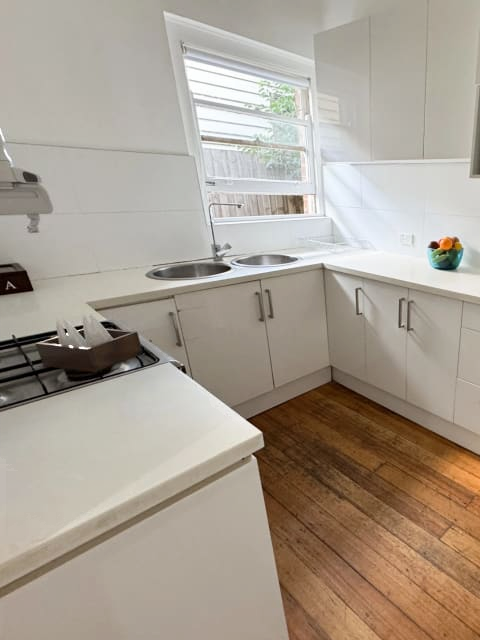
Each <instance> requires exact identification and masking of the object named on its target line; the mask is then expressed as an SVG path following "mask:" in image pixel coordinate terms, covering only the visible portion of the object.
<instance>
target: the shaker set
mask: <svg viewBox="0 0 480 640" xmlns="http://www.w3.org/2000/svg"><path fill="white" fill-rule="evenodd" d="M81 317H82V326H83V327H82V329H84V335H85V339H84V338H83V337H82V336H81V335H80V334H79V332H78V330H77V329H76V328H75V326H73V324H72V323H71V322H70V321H69V320H68V319H67V318H62V322H63V324H62V322H61V319H60V318H57V319H56V320H55V325H56V333H57V337H58V340H59V345H68V346H77V347H86V348H89V347H92V346H95V345H98V344H101V343H103V342H106V341H109V340H112V339H113V338H112V337H111V335H110V334H109V333H108V332H107V330H106V329H107V328H105V326H104V325H103V324H102V322H100V321H99V320H98V319H97V317H96V316H95V315H94V314H93V313H91V312H90V313H88V316H87V314H86V313H83V314H82V316H81ZM88 317H89V319H88ZM63 325H64V326H63ZM64 327H65V328H64ZM65 329H66V330H65ZM67 334H68V335H67ZM85 340H86V341H85Z"/></svg>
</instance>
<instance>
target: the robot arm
mask: <svg viewBox="0 0 480 640" xmlns="http://www.w3.org/2000/svg"><path fill="white" fill-rule="evenodd" d="M6 143H7V141H6V139H5V136H4V133H3V129H2V128H1V126H0V216H18V215H19V216H23V215H26V217H27V219H28V220H29V225H25V228H26V229H27V230H26V231H27V232H28V234H38V233H40V230H39V223H40V220H41V217H40V215H50V214H53V211H54V206H53V203H52V200H51V197H50V195H49V192H48V190H47V189H46V187H45V186H43V185H42V183H43V179H42V176H41V175H40V174H38V173H35V172H31V171H28V170H25V169H22V168H20V167H17V166H15V165H14V162H13V160H12V158H11V157H10V155H9V154H8V151H7V144H6Z"/></svg>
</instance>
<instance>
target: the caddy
mask: <svg viewBox="0 0 480 640" xmlns="http://www.w3.org/2000/svg"><path fill="white" fill-rule="evenodd" d="M105 329H106V330H107V332H108V333H109V334H110V335H111V337H112V338H113V339H112V340H109V341H106V342H103V343H101V344H98V345H95V346H92V347H89V348H86V347H77V346H68V345H59V340H58V336H55V337H52V338H48V339H45V340H43V341H39V342H35V343H34V344H35V348H36V350H37V352H38V356H39V358H40V360H41V363H42V366H43V367H49V368H59V369H64V370H74V371H80V372H81V371H82V372H89V373H98V372H100V371H102V370H105V369H107V368H109V367H111V366H114V365H116V364H119V363H121V362H123V361H126V360H128V359H131V358H133V357H136V356H138V355H140V354H143V353H144V351H143V348H142V344H141V341H140V337H139V333H138V331H134V330H124V329H114V328H105ZM77 331H78V332H79V334H80V335H81V336H82V337H83V338H84V339H85V335H84V328H81V329H78V330H77ZM66 334H67V335H68V333H66ZM85 341H86V340H85Z"/></svg>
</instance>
